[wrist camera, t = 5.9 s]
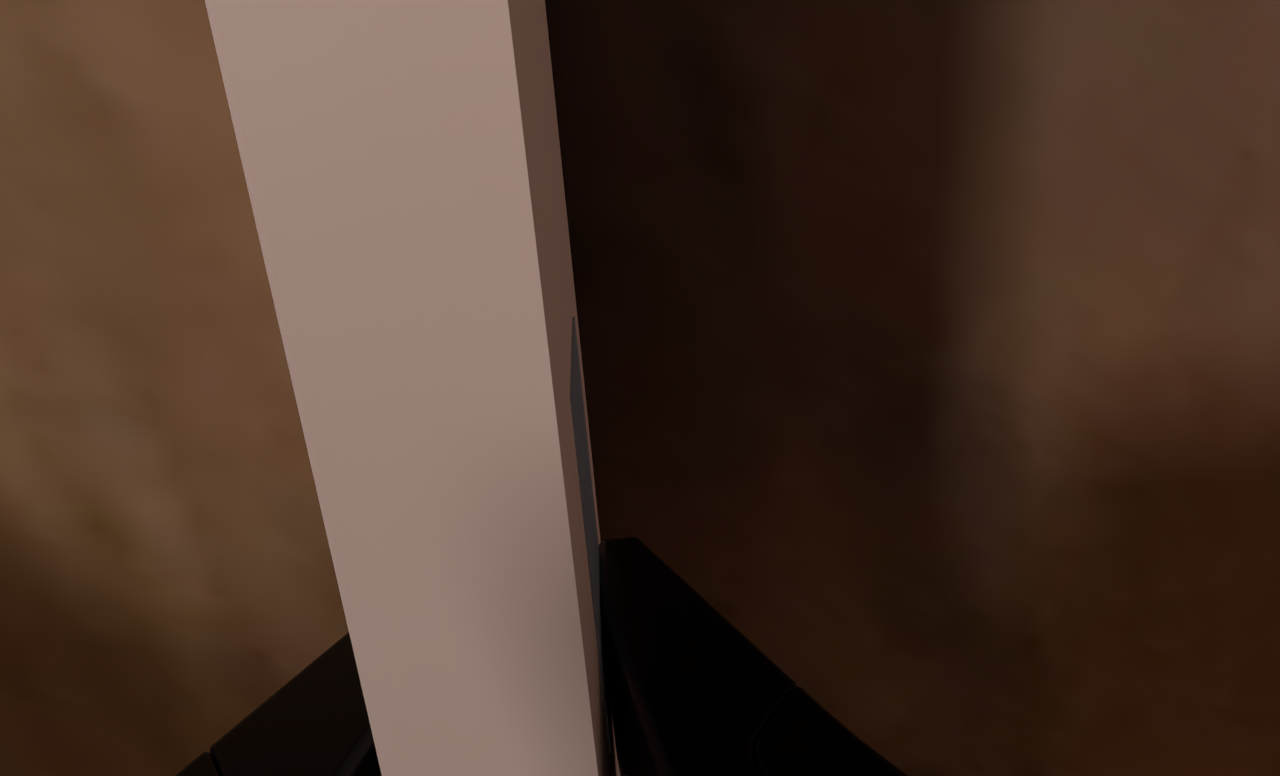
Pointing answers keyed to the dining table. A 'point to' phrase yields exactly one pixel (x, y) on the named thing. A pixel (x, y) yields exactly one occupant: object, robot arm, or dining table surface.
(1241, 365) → the dining table surface
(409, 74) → the pink plank
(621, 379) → the dining table surface
